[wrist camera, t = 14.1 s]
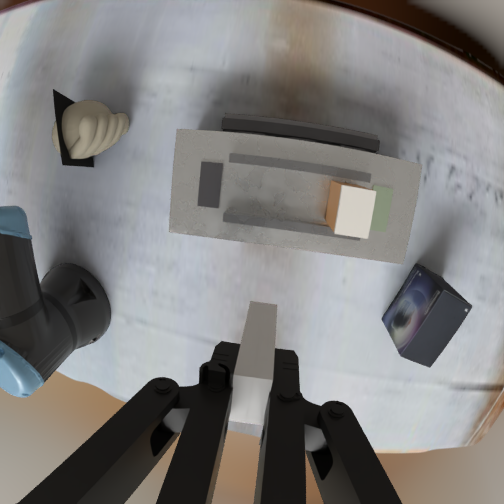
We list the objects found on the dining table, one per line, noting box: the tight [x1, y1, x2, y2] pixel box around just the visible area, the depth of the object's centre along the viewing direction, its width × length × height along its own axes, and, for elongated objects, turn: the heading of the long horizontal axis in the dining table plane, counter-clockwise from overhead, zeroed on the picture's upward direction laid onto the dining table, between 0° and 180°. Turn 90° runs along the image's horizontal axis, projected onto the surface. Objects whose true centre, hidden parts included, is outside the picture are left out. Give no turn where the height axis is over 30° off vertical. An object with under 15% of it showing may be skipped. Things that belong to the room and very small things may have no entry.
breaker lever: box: [325, 180, 376, 239], centre depth 30 cm, size 3×4×6 cm
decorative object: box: [52, 89, 129, 167], centre depth 36 cm, size 13×10×10 cm
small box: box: [382, 264, 472, 367], centre depth 39 cm, size 11×6×10 cm, turn 156°
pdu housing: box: [169, 129, 422, 264], centre depth 37 cm, size 28×12×9 cm, turn 84°
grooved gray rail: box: [222, 113, 380, 153], centre depth 38 cm, size 20×3×3 cm, turn 84°
